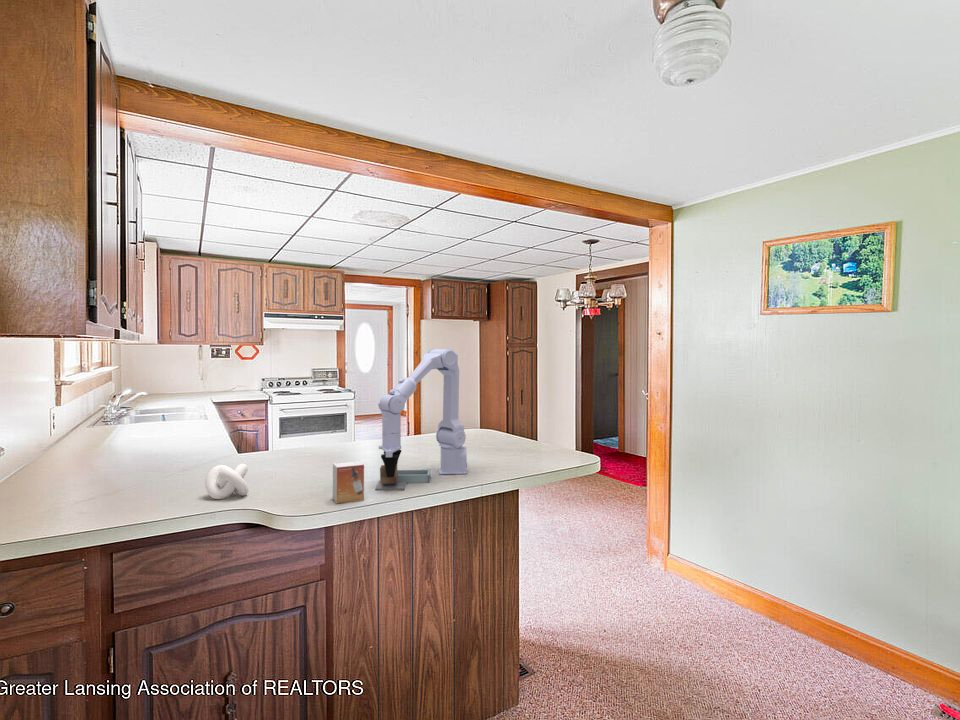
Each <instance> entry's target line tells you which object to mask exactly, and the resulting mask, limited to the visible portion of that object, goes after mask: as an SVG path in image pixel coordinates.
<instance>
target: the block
mask: <svg viewBox="0 0 960 720" xmlns="http://www.w3.org/2000/svg"><path fill="white" fill-rule="evenodd" d="M397 470H398V464H397V465H396V469H395V475H394V477H387V474H386V469H385V465H384V464H383V465H382V464H381V466H380V468H379V479H380V480H379V481H380V484H394V483H397V481H398V471H397Z"/></svg>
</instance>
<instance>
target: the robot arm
mask: <svg viewBox="0 0 960 720" xmlns="http://www.w3.org/2000/svg"><path fill="white" fill-rule="evenodd" d="M458 357H459V355H458V354H457V353H456V352H455V351H454V350H453V349H451V348H444V349H443V348H430V349H428V351H427V352H426V353H425V354H424V355H423V359H422V360H421V362H419V364H418V365H417V366H416V367H415V369H414V370H413V371H412V372H411V374H410V375H409V377H403V378H399V380H398V383H397V384H396V385H395V386H394V387H393V388H392V389H390V391H389V393H388V394H384V395H383V396H382V397H381V398H380V399H379V403H377V404H378V408H379V410H380V412H381V417H382V421H381V424H382V425H381V426H382V429H381V431H382V435H381V436H382V438H381V439H382V441H381V443H382V445H379V446H378V450H382V451H383V453H382V454H381V455H380V457H381V460H382V463H383V465H385V469H386V474H387V477H394V475H395V469H396V465H397V466H398V462H399V458H400V456H401V453H402V445H401V444H402V443H401V441H402V439H401V435H402V434H401V432H402V430H401V426H402V425H401V423H402V422H401V418H402V417H401V414H402V413H401V412H402V411H404V409H405V406H406V405H405V404H406V403H407V401H408V399H409V398H410V397H411V396H412V395H413V394H414V393H415V392H416V390H417V385H418V383H420V382H421V380H422V379H424V377H425V376H426V375H428V374H429V373H430V372H431V370H437V371H439V373H440V374H441V375H443V389H442V390H443V391H442V394H443V395H442V400H443V401H442V403H443V404H442V420H440V421H439V423H438V425H437V431H436V435H435V438H436V439H435V440H436V441H437V443H438V445H439V447H440V467H439V471H438V474H439V475H467V468H468V461H467V460H468V459H467V456H468V455H467V452H468V451H467V446H464V444H465V442H466V439H467V437H466V436H467V435H466V433H465V426H464V424H463V423H462V422H461V421H460V420H459V407H460V406H459V403H460V402H459V401H460V400H459V398H460V367H459V363H458V361H459V360H458V359H459V358H458Z"/></svg>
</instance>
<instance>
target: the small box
mask: <svg viewBox="0 0 960 720" xmlns="http://www.w3.org/2000/svg"><path fill="white" fill-rule="evenodd" d="M332 500H333V501H334V503H336V504H342V503H350V502H360V501H365V465H364V463H363V462H362V461H360V460H356V461H347V462H334V463H332Z"/></svg>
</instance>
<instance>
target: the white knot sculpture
mask: <svg viewBox="0 0 960 720" xmlns="http://www.w3.org/2000/svg"><path fill="white" fill-rule="evenodd" d="M248 470H249V468H248V465H247V464H246V463H239V464H238V465H237V466H236V467H235V468H234V469H233V468H232V467H230V466H228V465H225V464H217V465H216V466H214V467H212V468H211V469H210V470H209V471H208V473H207V474H206V476H205V477H206V478H205V480H204V485H205V487H204V488H205V490H206V493H207V494H208V495H209V497H211V498H213V499H215V500H224V499H226V498H228V497H230V496H231V495H232V494H233V493H234V491H235V493H236V494H237V495H238V496H241V497H243V496H244V497H245V496H246V495H247V494H248V493H249V491H250V490H249V489H250V488H249V485H248V484H247V482H246V480H245V479H244V478H245V477H246V475H247V473H248Z"/></svg>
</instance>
